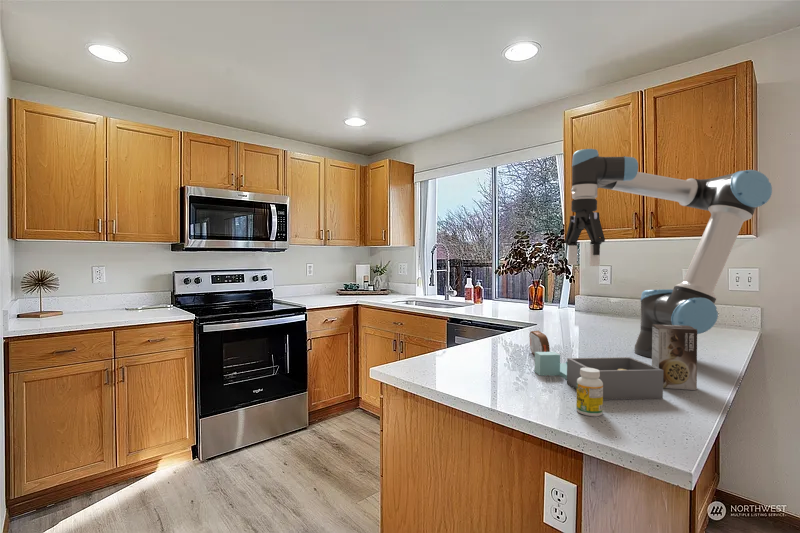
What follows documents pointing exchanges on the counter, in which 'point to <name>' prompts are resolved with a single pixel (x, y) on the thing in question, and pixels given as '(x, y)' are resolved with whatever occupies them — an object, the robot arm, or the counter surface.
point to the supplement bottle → (589, 392)
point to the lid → (549, 364)
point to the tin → (538, 342)
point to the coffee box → (675, 355)
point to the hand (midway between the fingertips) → (582, 265)
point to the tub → (620, 377)
